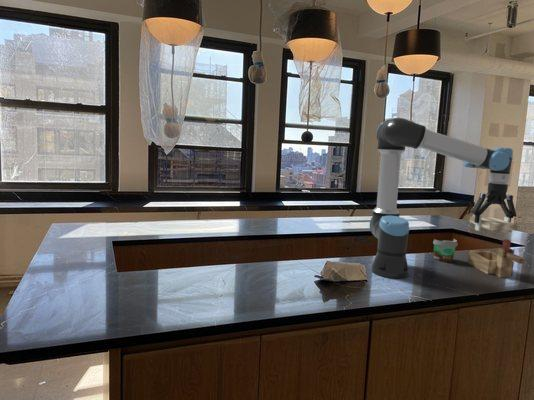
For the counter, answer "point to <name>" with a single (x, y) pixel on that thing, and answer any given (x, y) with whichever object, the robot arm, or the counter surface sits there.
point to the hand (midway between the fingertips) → (491, 231)
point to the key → (510, 255)
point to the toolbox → (492, 262)
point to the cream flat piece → (495, 224)
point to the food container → (444, 250)
